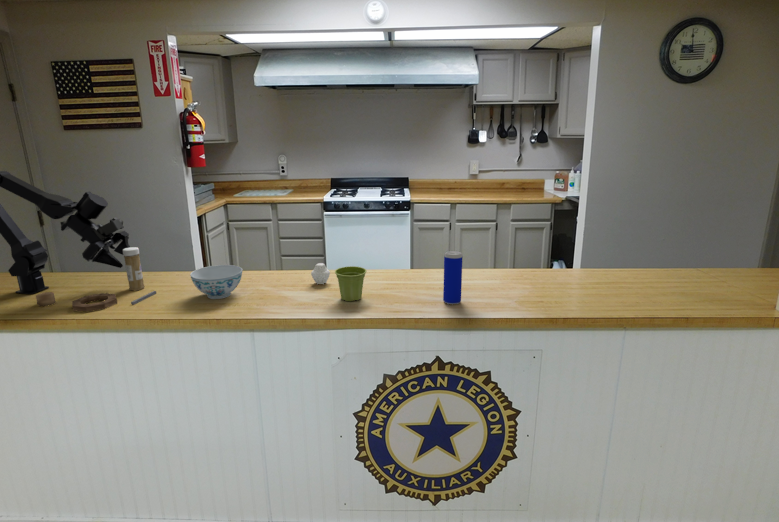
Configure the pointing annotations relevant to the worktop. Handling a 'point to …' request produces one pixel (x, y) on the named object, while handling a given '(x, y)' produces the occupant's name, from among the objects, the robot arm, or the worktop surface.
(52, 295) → the small wooden bead
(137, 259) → the sprinkles bottle
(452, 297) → the beverage can
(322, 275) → the white owl figurine
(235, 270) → the chinaware
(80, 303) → the walnut ring
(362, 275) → the plant pot
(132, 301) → the grey rectangular bar
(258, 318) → the worktop surface
